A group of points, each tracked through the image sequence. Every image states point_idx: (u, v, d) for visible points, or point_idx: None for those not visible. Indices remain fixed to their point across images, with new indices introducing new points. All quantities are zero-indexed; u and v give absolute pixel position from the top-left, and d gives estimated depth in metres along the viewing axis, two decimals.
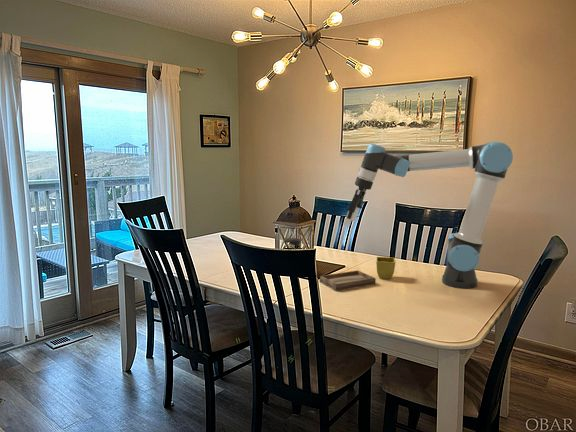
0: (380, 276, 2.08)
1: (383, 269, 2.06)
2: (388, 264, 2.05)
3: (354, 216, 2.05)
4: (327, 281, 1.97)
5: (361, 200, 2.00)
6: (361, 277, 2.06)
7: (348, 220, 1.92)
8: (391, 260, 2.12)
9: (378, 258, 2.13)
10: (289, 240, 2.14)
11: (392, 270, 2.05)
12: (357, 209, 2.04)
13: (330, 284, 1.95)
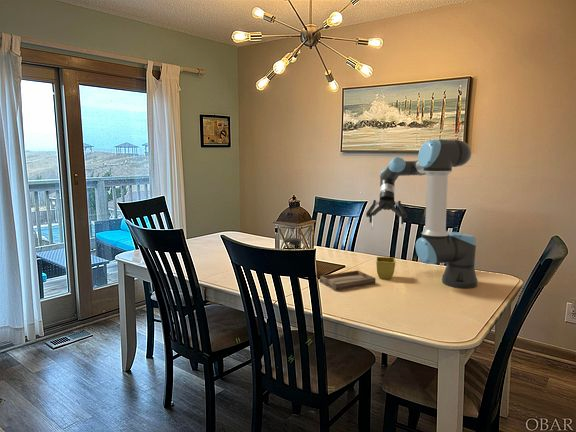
0: (380, 276, 2.08)
1: (383, 269, 2.06)
2: (388, 264, 2.05)
3: (399, 224, 2.18)
4: (327, 281, 1.97)
5: (394, 209, 2.23)
6: (361, 277, 2.06)
7: None
8: (391, 260, 2.12)
9: (378, 258, 2.13)
10: (289, 240, 2.14)
11: (392, 270, 2.05)
12: None
13: (330, 284, 1.95)
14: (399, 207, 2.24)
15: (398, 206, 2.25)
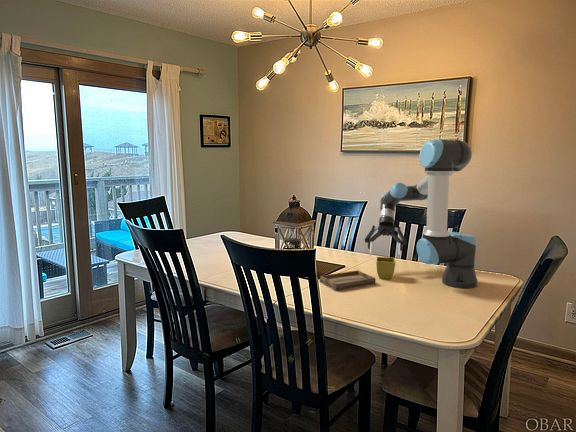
0: (380, 276, 2.08)
1: (383, 269, 2.06)
2: (388, 264, 2.05)
3: (398, 251, 2.13)
4: (327, 281, 1.97)
5: (393, 235, 2.18)
6: (361, 277, 2.06)
7: None
8: (391, 260, 2.12)
9: (378, 258, 2.13)
10: (289, 240, 2.14)
11: (392, 270, 2.05)
12: None
13: (330, 284, 1.95)
14: (398, 233, 2.19)
15: (398, 232, 2.21)
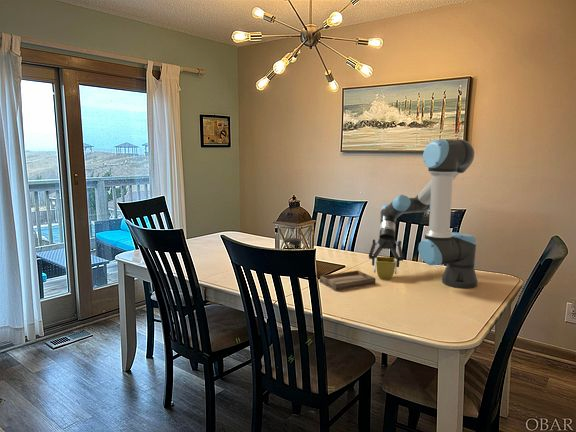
0: (380, 276, 2.08)
1: (383, 269, 2.06)
2: (388, 264, 2.05)
3: None
4: (327, 281, 1.97)
5: (392, 249, 2.11)
6: (361, 277, 2.06)
7: (374, 266, 2.09)
8: (391, 260, 2.12)
9: (378, 258, 2.13)
10: (289, 240, 2.14)
11: (392, 270, 2.05)
12: (395, 261, 2.08)
13: (330, 284, 1.95)
14: (398, 247, 2.13)
15: (398, 246, 2.14)
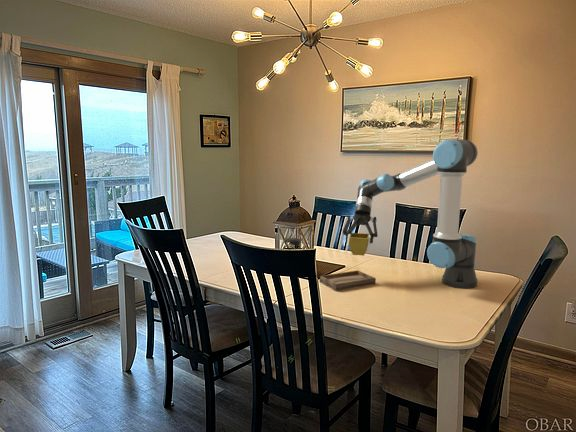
0: (353, 252, 2.03)
1: (356, 245, 2.01)
2: (361, 240, 2.00)
3: (368, 244, 2.01)
4: (327, 281, 1.97)
5: (366, 225, 2.06)
6: (361, 277, 2.06)
7: None
8: (366, 236, 2.07)
9: (352, 234, 2.09)
10: (289, 240, 2.14)
11: (365, 246, 2.00)
12: None
13: (330, 284, 1.95)
14: (373, 224, 2.07)
15: (373, 222, 2.08)
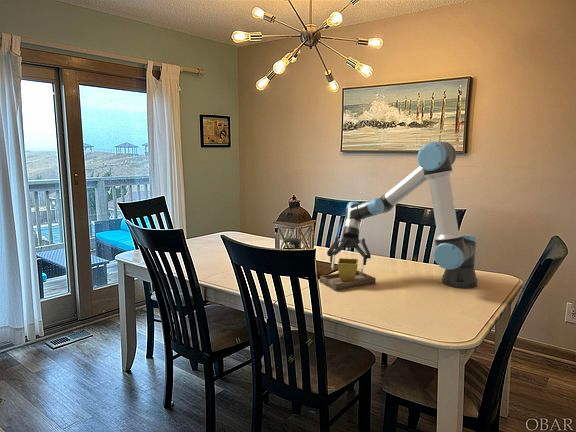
0: (342, 278, 1.99)
1: (345, 271, 1.97)
2: (350, 266, 1.96)
3: (361, 266, 1.98)
4: (327, 281, 1.97)
5: (357, 248, 2.03)
6: (361, 277, 2.06)
7: (332, 263, 2.01)
8: (354, 262, 2.04)
9: (341, 260, 2.05)
10: (289, 240, 2.14)
11: (354, 272, 1.96)
12: (362, 258, 2.00)
13: (330, 284, 1.95)
14: (363, 246, 2.04)
15: (362, 244, 2.05)
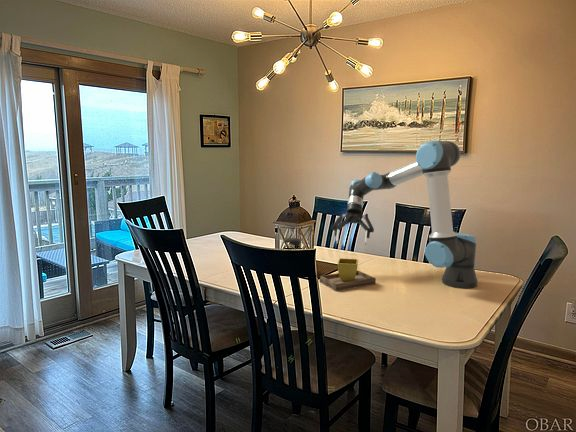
0: (342, 278, 1.99)
1: (345, 271, 1.97)
2: (350, 266, 1.96)
3: (365, 239, 2.09)
4: (327, 281, 1.97)
5: (360, 222, 2.14)
6: (361, 277, 2.06)
7: None
8: (354, 262, 2.04)
9: (341, 260, 2.05)
10: (289, 240, 2.14)
11: (354, 272, 1.96)
12: (365, 232, 2.11)
13: (330, 284, 1.95)
14: (366, 220, 2.15)
15: (365, 219, 2.16)
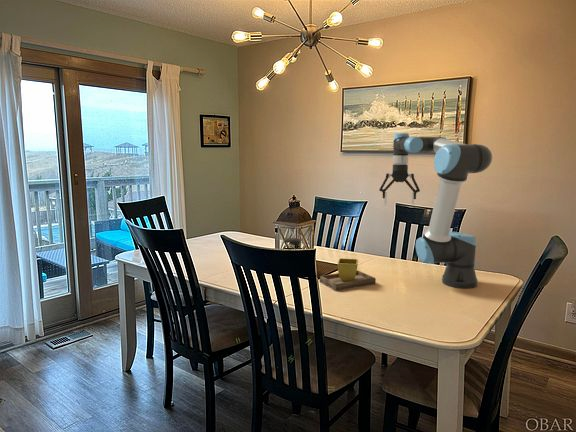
0: (342, 278, 1.99)
1: (345, 271, 1.97)
2: (350, 266, 1.96)
3: None
4: (327, 281, 1.97)
5: (407, 184, 2.24)
6: (361, 277, 2.06)
7: None
8: (354, 262, 2.04)
9: (341, 260, 2.05)
10: (289, 240, 2.14)
11: (354, 272, 1.96)
12: (412, 194, 2.25)
13: (330, 284, 1.95)
14: None
15: None
